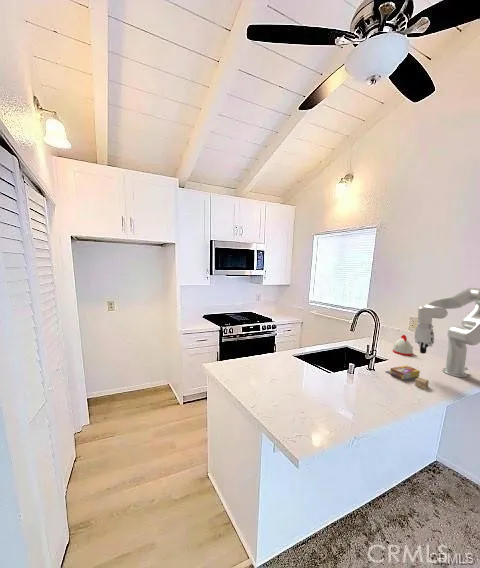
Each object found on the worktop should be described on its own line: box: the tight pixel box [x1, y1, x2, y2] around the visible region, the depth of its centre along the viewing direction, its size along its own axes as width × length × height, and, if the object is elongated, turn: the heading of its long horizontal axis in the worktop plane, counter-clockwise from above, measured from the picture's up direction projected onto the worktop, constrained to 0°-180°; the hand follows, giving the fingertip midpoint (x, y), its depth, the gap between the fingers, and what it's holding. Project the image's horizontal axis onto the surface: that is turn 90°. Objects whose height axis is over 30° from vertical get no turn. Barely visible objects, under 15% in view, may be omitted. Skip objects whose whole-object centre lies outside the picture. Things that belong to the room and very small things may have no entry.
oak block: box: [414, 376, 430, 390], centre depth 150 cm, size 5×5×4 cm
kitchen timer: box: [392, 334, 414, 357], centre depth 209 cm, size 14×14×15 cm
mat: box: [385, 370, 418, 382], centre depth 165 cm, size 14×14×1 cm
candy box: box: [389, 365, 421, 380], centre depth 164 cm, size 9×4×15 cm
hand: (423, 352), depth 168 cm, fingers closed
